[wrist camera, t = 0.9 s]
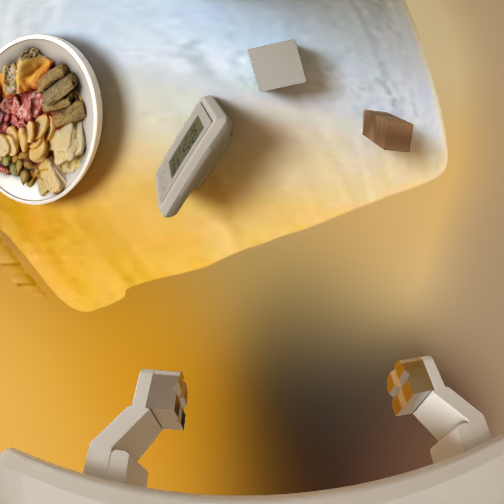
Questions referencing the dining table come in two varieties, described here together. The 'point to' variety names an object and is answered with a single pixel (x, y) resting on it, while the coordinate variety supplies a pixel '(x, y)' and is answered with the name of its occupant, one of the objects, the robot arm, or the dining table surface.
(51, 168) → the bowl
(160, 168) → the digital clock
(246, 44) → the dining table surface
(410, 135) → the walnut post
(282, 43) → the grey cube
